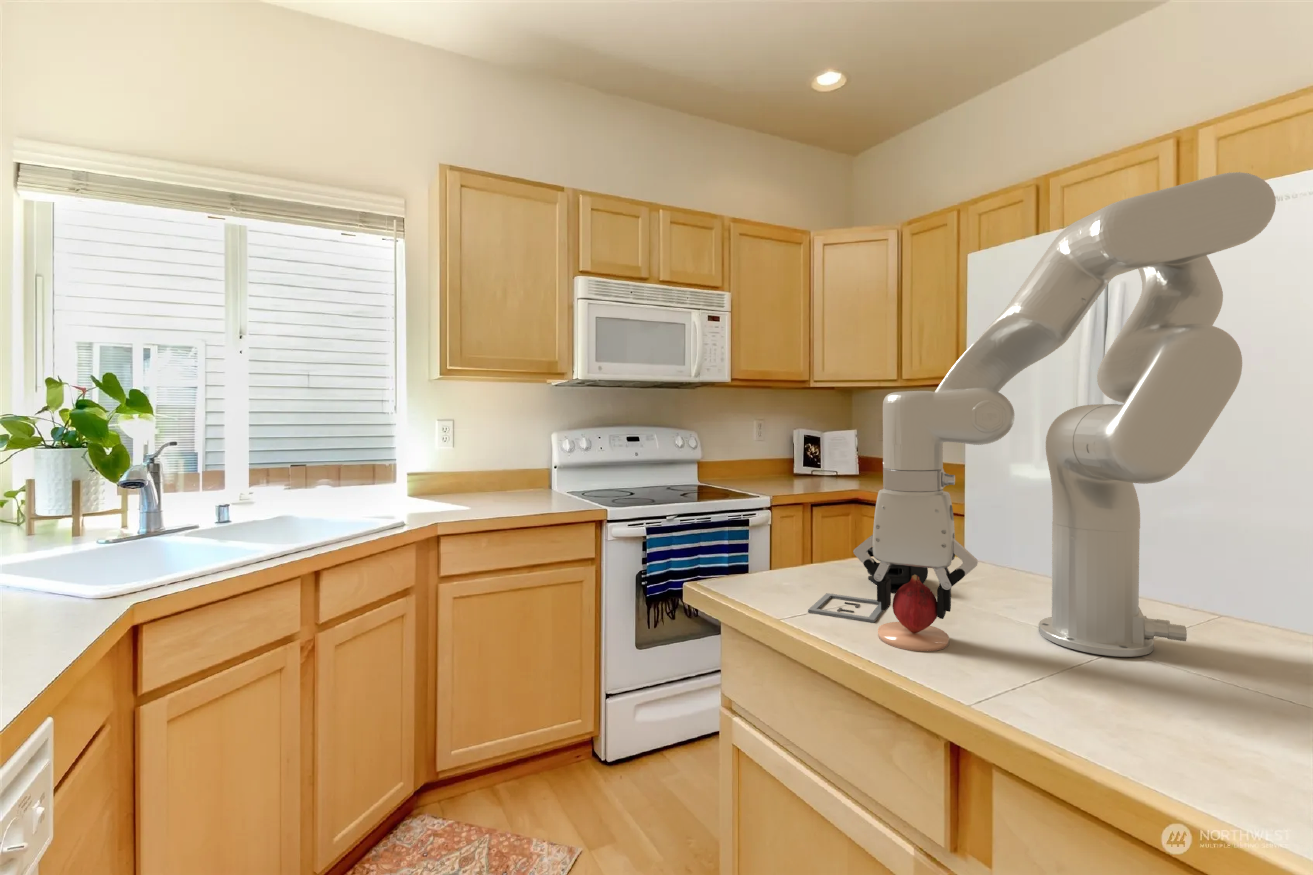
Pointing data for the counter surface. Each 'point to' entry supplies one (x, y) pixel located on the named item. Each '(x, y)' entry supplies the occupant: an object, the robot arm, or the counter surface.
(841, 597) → the frame
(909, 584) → the onion
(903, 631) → the disc
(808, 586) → the counter surface
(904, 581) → the end cap
